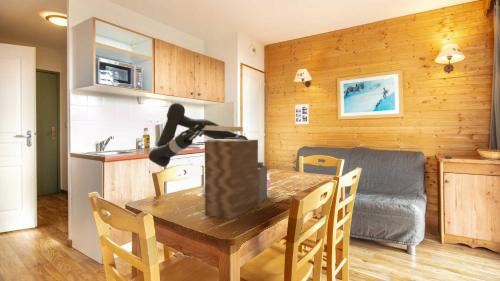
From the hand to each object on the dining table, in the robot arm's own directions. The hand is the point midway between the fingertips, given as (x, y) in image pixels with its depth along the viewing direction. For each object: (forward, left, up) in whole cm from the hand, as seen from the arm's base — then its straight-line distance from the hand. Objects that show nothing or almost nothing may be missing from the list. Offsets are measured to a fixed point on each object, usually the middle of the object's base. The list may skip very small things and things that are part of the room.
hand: (205, 124), depth 123 cm
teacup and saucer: (-20, -18, -40) cm, 48 cm away
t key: (-1, +6, -3) cm, 7 cm away
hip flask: (-28, +11, -40) cm, 50 cm away
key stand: (-7, +10, -39) cm, 41 cm away
